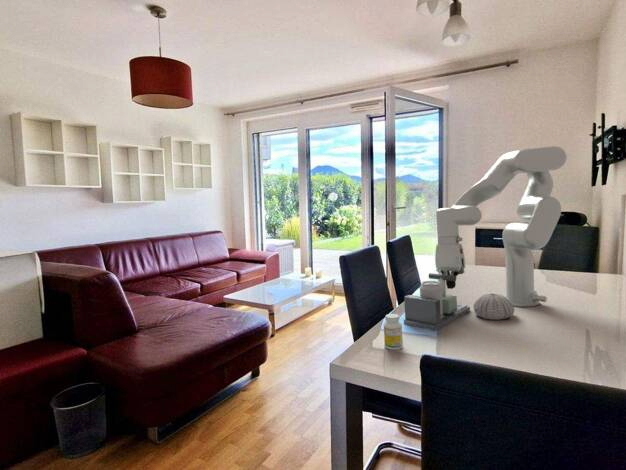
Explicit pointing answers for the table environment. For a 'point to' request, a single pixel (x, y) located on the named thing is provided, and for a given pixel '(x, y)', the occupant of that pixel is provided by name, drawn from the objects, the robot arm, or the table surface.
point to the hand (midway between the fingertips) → (451, 287)
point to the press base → (429, 312)
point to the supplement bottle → (393, 332)
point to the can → (432, 291)
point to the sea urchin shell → (493, 307)
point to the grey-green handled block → (447, 300)
